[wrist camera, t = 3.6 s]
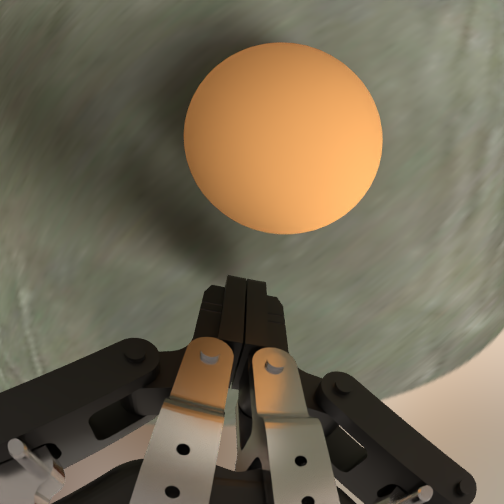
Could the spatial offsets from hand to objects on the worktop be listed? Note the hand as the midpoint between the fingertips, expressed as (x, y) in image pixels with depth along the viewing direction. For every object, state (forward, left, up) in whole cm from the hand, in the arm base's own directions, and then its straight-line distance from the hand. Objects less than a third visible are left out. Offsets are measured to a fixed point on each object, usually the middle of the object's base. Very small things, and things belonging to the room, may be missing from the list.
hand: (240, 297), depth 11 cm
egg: (0, +6, +1) cm, 6 cm away
